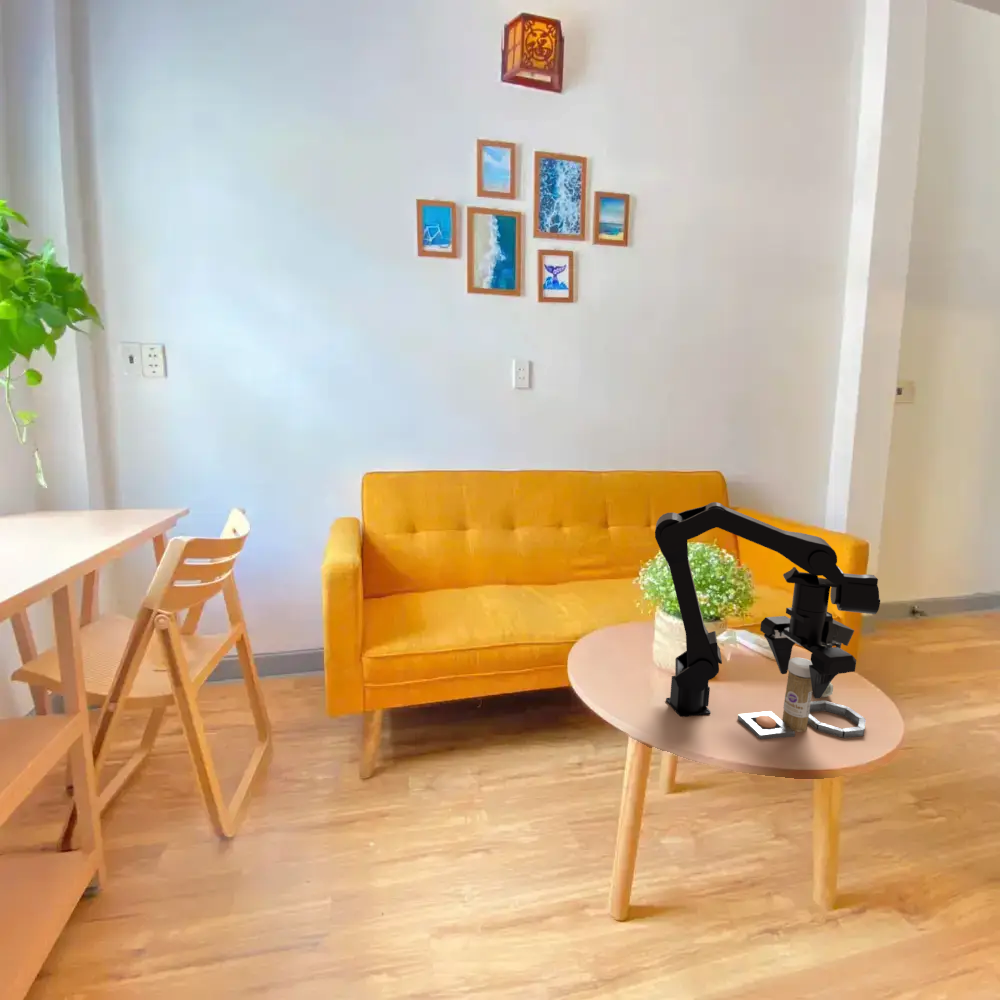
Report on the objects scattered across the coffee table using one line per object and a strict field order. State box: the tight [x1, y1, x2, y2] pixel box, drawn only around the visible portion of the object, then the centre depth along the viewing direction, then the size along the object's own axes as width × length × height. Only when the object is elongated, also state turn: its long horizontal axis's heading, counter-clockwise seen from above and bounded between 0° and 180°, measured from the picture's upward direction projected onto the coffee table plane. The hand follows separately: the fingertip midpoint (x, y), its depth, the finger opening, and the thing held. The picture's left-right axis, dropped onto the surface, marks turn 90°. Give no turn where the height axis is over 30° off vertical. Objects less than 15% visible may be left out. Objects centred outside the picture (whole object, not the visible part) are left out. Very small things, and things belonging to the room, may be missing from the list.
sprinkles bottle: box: [781, 657, 813, 733], centre depth 112 cm, size 5×5×13 cm
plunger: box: [755, 716, 776, 730], centre depth 112 cm, size 3×3×2 cm
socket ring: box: [807, 700, 866, 739], centre depth 115 cm, size 10×10×2 cm
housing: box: [737, 710, 796, 740], centre depth 112 cm, size 7×7×2 cm
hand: (799, 685), depth 112 cm, fingers open, 9 cm apart
